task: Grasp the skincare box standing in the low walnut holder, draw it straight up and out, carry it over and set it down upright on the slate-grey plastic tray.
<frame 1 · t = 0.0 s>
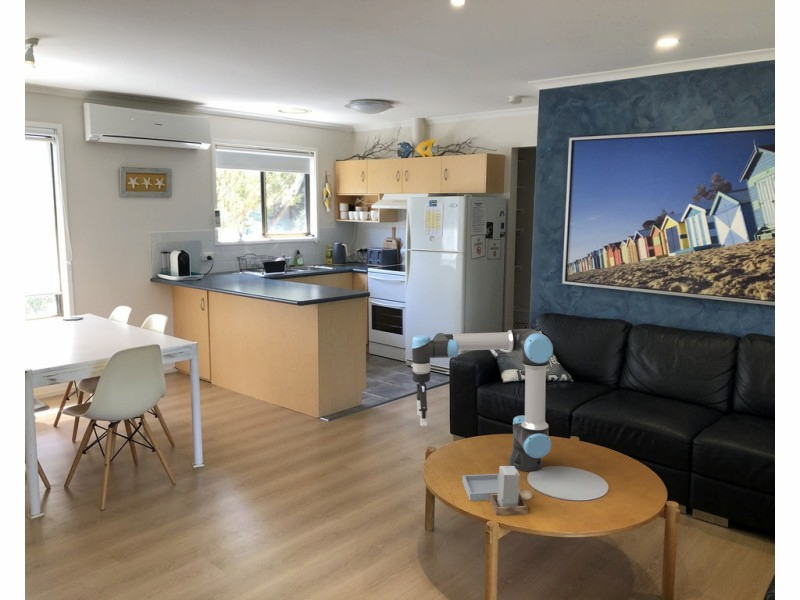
hand: (422, 420, 262), 28 cm above the table, fingers open, 13 cm apart
holder: (508, 507, 241), on the table
skincare box: (508, 507, 241), resting in holder
tray: (484, 490, 256), on the table
curved potato chip: (521, 495, 251), on the table
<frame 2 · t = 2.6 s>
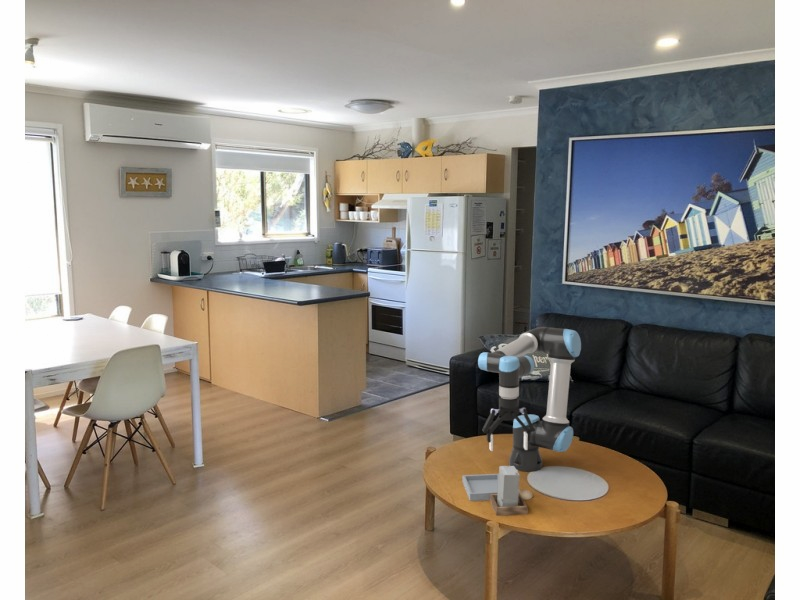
hand: (508, 449, 238), 24 cm above the table, fingers open, 13 cm apart
nothing on the table moved.
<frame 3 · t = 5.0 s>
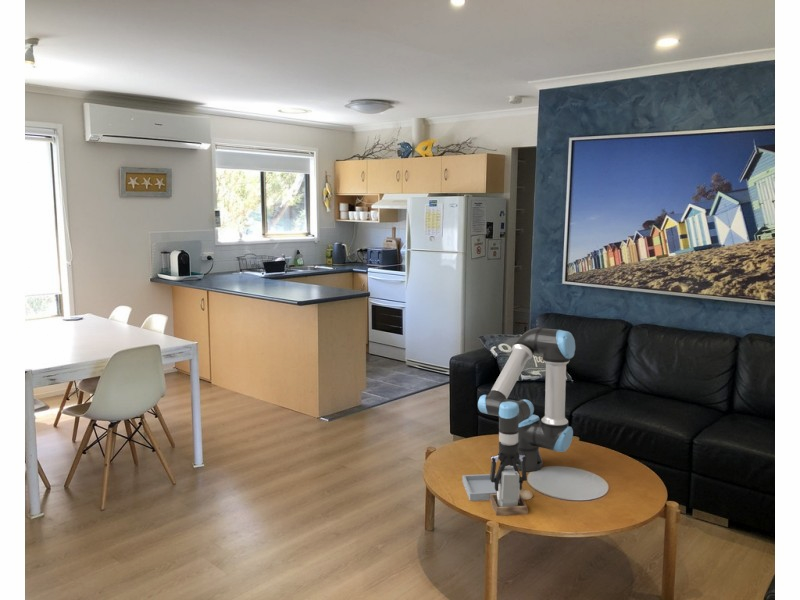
hand: (508, 497, 240), 4 cm above the table, fingers closed on skincare box, 7 cm apart
skincare box: (508, 507, 241), resting in holder, touching gripper
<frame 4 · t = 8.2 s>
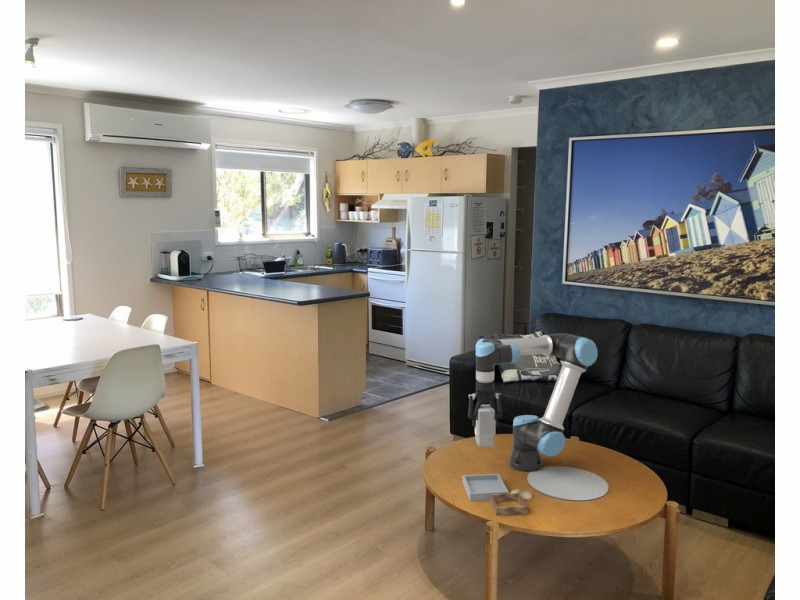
hand: (485, 434, 253), 25 cm above the table, fingers closed on skincare box, 7 cm apart
skincare box: (485, 444, 254), point 20 cm above the table, touching gripper
when the fingers open (6 cm above the table, at t = 11.8 s): skincare box drops 1 cm, resting on tray.
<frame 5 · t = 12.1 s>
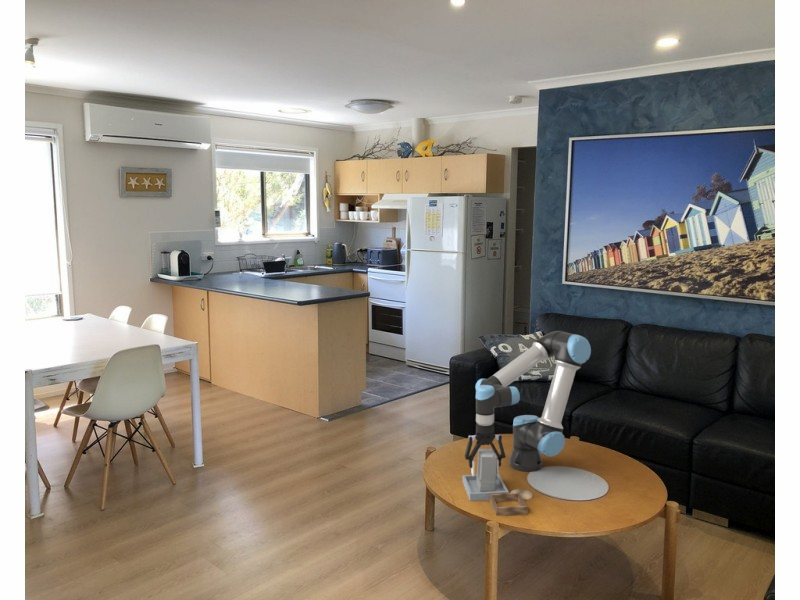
hand: (484, 474, 255), 7 cm above the table, fingers open, 9 cm apart
skincare box: (486, 488, 256), point 1 cm above the table, touching tray
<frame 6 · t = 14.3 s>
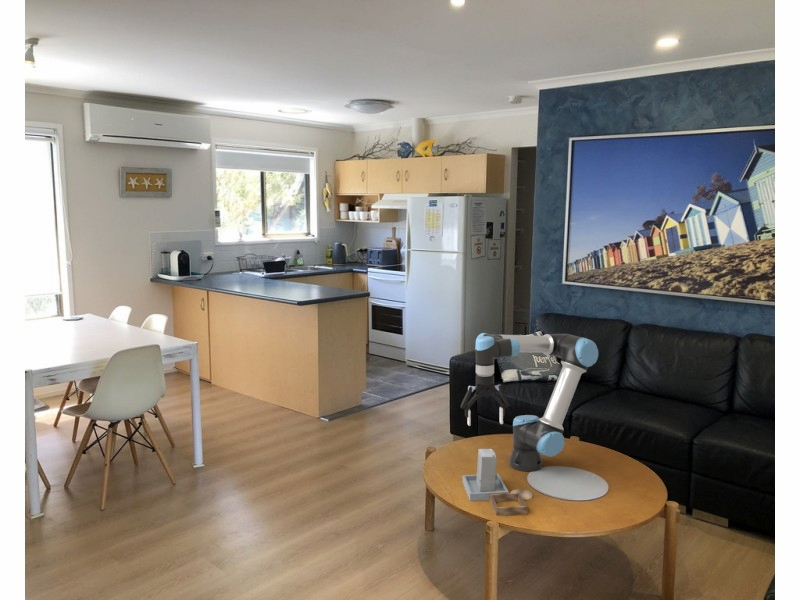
hand: (485, 423, 253), 29 cm above the table, fingers open, 13 cm apart
nothing on the table moved.
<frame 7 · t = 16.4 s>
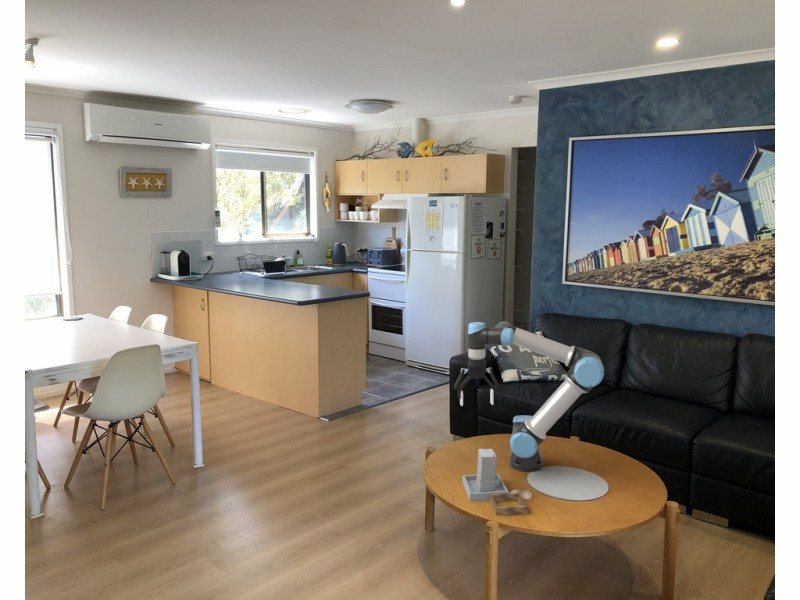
hand: (476, 404, 270), 32 cm above the table, fingers open, 13 cm apart
nothing on the table moved.
at the end: skincare box inside the target area on the tray (0.6 cm from its centre), point 0.8 cm above the tray's base; skincare box tilted 0°; the gripper is holding nothing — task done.
